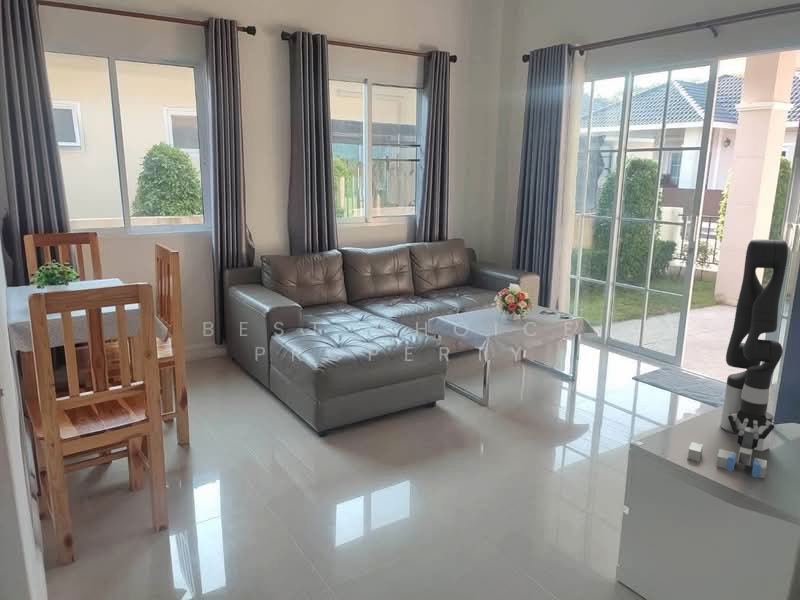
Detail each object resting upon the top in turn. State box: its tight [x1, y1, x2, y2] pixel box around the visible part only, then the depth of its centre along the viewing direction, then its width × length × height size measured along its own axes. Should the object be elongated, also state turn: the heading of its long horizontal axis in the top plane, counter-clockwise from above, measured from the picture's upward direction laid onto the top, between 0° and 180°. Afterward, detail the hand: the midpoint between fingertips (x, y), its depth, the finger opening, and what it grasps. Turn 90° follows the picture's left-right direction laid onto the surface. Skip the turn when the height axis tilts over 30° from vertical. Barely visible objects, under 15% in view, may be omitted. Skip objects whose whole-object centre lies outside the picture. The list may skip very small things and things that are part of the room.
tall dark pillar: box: [737, 431, 754, 467], centre depth 189 cm, size 15×3×4 cm, turn 146°
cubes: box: [687, 441, 768, 479], centre depth 188 cm, size 7×22×4 cm, turn 56°
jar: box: [743, 411, 774, 452], centre depth 200 cm, size 9×8×12 cm
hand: (746, 446), depth 190 cm, fingers closed on tall dark pillar, 3 cm apart
